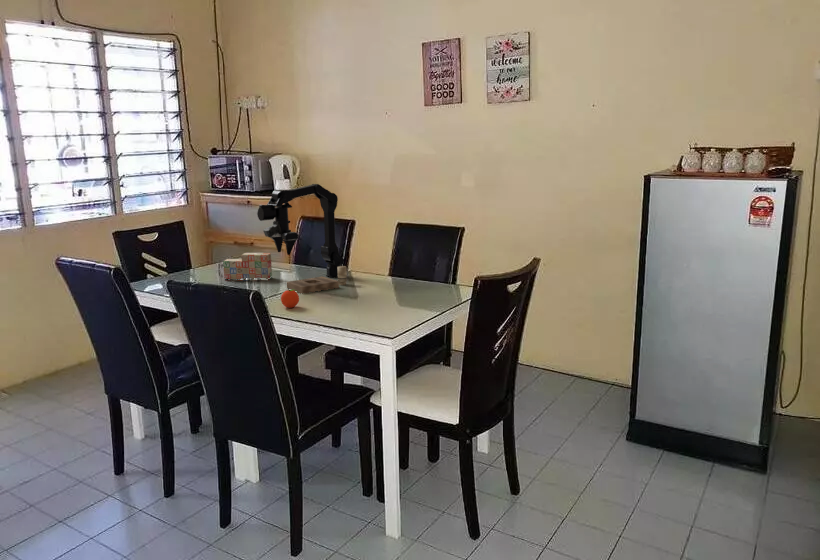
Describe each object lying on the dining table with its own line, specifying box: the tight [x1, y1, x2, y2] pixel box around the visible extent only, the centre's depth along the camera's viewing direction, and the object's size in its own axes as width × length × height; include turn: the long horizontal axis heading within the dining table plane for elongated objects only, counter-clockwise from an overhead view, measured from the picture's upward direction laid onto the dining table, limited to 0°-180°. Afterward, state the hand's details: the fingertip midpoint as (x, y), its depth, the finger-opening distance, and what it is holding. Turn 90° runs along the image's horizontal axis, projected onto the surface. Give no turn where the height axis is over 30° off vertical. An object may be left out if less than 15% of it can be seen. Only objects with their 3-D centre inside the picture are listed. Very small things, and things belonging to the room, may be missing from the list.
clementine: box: [280, 289, 300, 309], centre depth 252 cm, size 8×7×7 cm
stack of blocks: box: [222, 252, 273, 279], centre depth 306 cm, size 21×6×12 cm, turn 85°
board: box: [286, 276, 340, 295], centre depth 285 cm, size 18×14×3 cm
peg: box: [337, 265, 348, 286], centre depth 291 cm, size 4×4×8 cm
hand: (284, 253), depth 290 cm, fingers open, 9 cm apart
